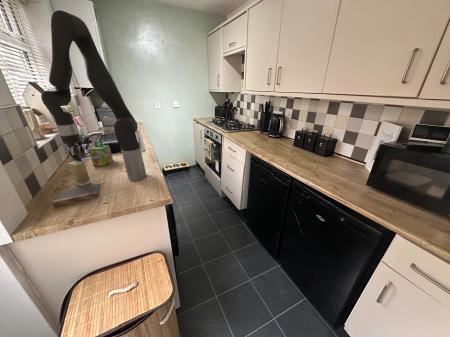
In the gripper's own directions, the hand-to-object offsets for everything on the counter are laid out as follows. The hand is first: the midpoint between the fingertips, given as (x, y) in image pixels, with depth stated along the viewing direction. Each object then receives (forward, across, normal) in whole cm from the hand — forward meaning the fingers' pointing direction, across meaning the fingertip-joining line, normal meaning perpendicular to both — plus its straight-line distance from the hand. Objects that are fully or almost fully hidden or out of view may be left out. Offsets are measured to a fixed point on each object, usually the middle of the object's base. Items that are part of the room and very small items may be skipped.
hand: (80, 164), depth 98 cm
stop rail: (+8, -25, 0) cm, 26 cm away
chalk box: (+9, +22, -8) cm, 24 cm away
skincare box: (+9, -6, 0) cm, 11 cm away
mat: (+8, -18, 0) cm, 19 cm away
